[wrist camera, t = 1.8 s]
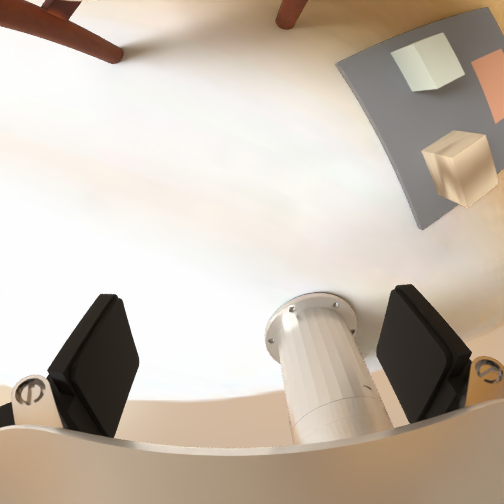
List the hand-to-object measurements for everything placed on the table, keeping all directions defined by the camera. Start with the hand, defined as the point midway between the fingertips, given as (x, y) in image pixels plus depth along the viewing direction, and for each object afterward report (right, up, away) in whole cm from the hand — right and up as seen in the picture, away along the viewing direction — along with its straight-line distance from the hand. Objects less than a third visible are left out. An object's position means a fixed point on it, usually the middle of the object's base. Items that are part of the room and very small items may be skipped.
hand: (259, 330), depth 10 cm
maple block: (+23, +13, +19) cm, 33 cm away
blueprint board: (+27, +22, +17) cm, 39 cm away
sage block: (+18, +24, +15) cm, 33 cm away
